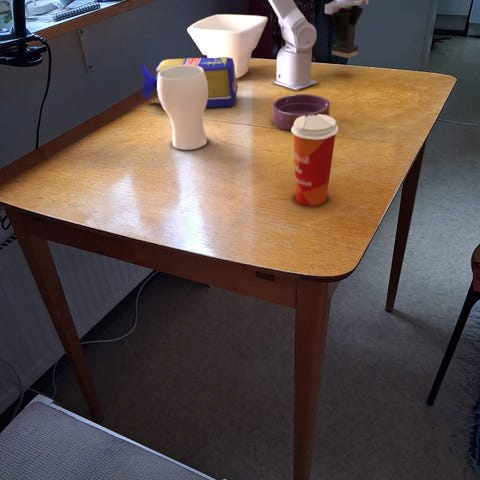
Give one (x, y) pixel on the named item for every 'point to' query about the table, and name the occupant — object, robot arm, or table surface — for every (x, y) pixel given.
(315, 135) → the paper cup
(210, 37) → the bowl
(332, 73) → the table surface
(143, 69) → the bread
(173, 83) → the cup
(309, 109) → the plum bowl
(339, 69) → the table surface
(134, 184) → the table surface
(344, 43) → the brush
